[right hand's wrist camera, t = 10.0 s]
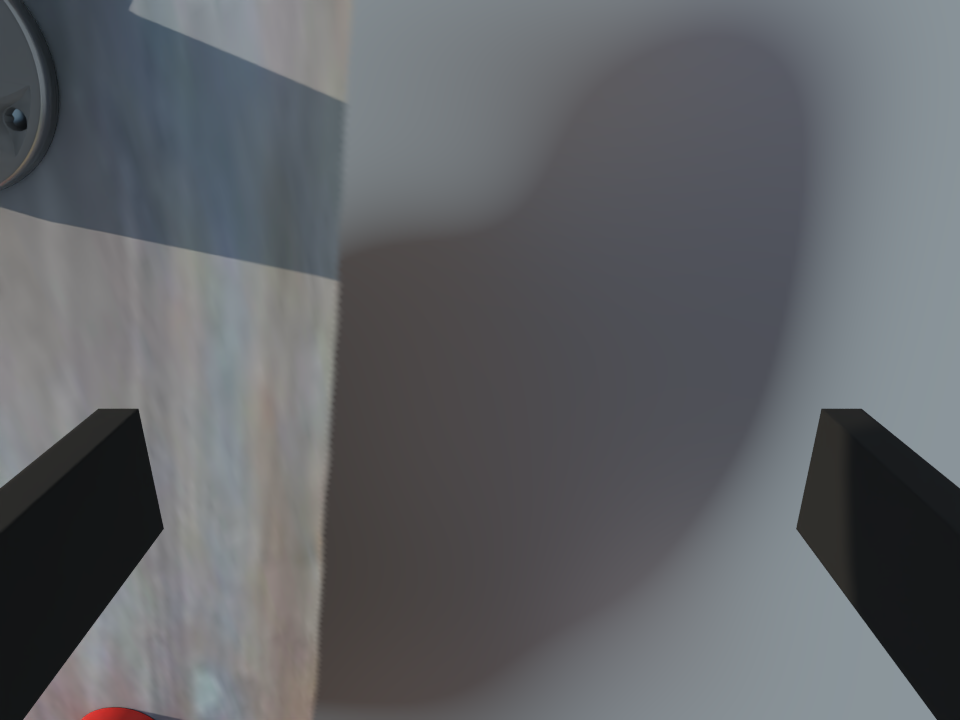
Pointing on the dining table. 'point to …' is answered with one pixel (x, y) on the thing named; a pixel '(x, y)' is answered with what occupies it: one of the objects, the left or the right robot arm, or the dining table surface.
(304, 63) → the dining table surface
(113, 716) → the canister
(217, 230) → the dining table surface
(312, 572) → the dining table surface
